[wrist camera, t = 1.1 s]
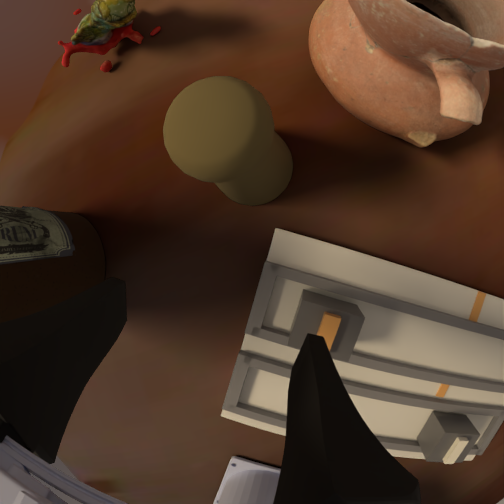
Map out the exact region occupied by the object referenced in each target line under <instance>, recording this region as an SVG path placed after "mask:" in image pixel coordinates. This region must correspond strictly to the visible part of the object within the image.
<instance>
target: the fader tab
mask: <svg viewBox="0 0 504 504" xmlns="http://www.w3.org/2000/svg"><path fill="white" fill-rule="evenodd" d="M364 320H365V317H364V315H363V314H362V312H361V310H360V309H359V307H358V305H356V304H353V303H349V302H346V301H342V300H339V299H335V298H332V297H328V296H325V295H322V294H318V293H315V292H311V291H308V290H305V289H303V291H302V294H301V297H300V300H299V304H298V307H297V310H296V313H295V316H294V319H293V322H292V325H291V328H290V333H289V338H288V343H287V346H291V347H294V348H298V349H301V347H302V345H303V342H304V340H305V338H306V336H307V333H310V334H314V335H319V336H323V337H324V339H325V341H326V344H327V347H328V349H329V352H330V354H331V357H332V358H334V359H338V360H341V361H345V362H349V359H350V357H351V354H352V352H353V349H354V347H355V344H356V341H357V339H358V336H359V333H360V331H361V328H362V325H363V323H364Z"/></svg>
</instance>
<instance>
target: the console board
mask: <svg viewBox="0 0 504 504" xmlns="http://www.w3.org/2000/svg"><path fill="white" fill-rule="evenodd" d="M303 289H305V290H308V291H311V292H315V293H318V294H322V295H325V296H328V297H332V298H335V299H339V300H342V301H346V302H349V303H353V304H356V305H358V307H359V309H360V310H361V312H362V314H363V315H364V317H365V320H364V323H363V325H362V328H361V331H360V333H359V336H358V339H357V341H356V344H355V347H354V349H353V352H352V354H351V357H350V359H349V362H345V361H341V360H338V359H334V358H332V359H333V362H334V364H335V366H336V369H337V371H338V373H339V375H340V378H341V380H342V382H343V384H344V386H345V388H346V390H347V392H348V394H349V396H350V398H351V400H352V402H353V403H354V405H355V407H356V409H357V410H358V412H359V414H360V415H361V417H362V418H363V420H364V421H365V423H366V424H367V426H368V427H369V428H370V430H371V431H372V432H373V434H374V435H375V436H376V438H377V439H378V440H379V441H380V443H381V444H382V445H383V446H384V447H385V449H386V450H387V451H388V452H389V453H390V454H391V455H392V456H396V457H406V458H417V459H425V457H424V455H423V452H422V450H421V448H420V445H419V443H418V441H417V436H418V435H419V433H420V432H421V430H422V428H423V427H424V425H425V423H426V421H427V420H428V418H429V416H430V414H431V413H432V411H436V412H444V413H452V414H461V415H466V416H467V417H468V418H469V420H470V421H471V422H472V424H473V425H474V427H475V428H476V429H477V431H478V432H479V433H480V437H479V438H478V440H477V441H476V443H475V444H474V446H473V447H472V449H471V450H470V452H469V453H468V455H467V456H466V457H465V459H464V460H472V459H473V458H474V457H475V455H482V453H483V452H484V450H485V449H486V447H487V446H488V444H489V443H490V441H491V440H492V438H493V437H494V435H495V434H496V432H497V430H498V429H499V427H500V425H501V424H502V422H503V420H504V299H501V298H499V297H496V296H493V295H490V294H487V293H484V292H481V291H478V290H475V289H472V288H470V287H467V286H464V285H461V284H458V283H455V282H452V281H449V280H446V279H443V278H440V277H436V276H433V275H430V274H427V273H424V272H421V271H418V270H415V269H412V268H409V267H405V266H402V265H399V264H396V263H393V262H390V261H386V260H383V259H380V258H377V257H373V256H370V255H367V254H364V253H360V252H357V251H354V250H351V249H347V248H344V247H341V246H337V245H334V244H330V243H327V242H324V241H320V240H317V239H314V238H310V237H307V236H303V235H300V234H296V233H293V232H289V231H286V230H282V229H279V228H275V232H274V236H273V239H272V243H271V246H270V250H269V253H268V257H267V260H266V261H265V263H264V267H263V270H262V274H261V277H260V281H259V284H258V288H257V291H256V295H255V298H254V302H253V305H252V309H251V312H250V316H249V319H248V323H247V326H246V330H245V333H246V334H245V337H244V340H243V344H242V347H241V350H240V352H239V354H238V357H237V360H236V364H235V367H234V370H233V374H232V377H231V381H230V384H229V387H228V391H227V394H226V397H225V401H224V404H223V407H222V409H223V411H222V414H221V416H222V417H225V418H228V419H231V420H234V421H237V422H240V423H243V424H246V425H250V426H253V427H256V428H259V429H263V430H266V431H270V432H273V433H277V434H281V435H284V436H286V421H287V400H288V388H289V382H290V376H291V370H292V367H293V365H294V362H295V360H296V358H297V356H298V354H299V351H300V349H298V348H294V347H291V346H287V343H288V338H289V333H290V328H291V325H292V322H293V319H294V316H295V313H296V310H297V307H298V304H299V300H300V297H301V294H302V291H303Z"/></svg>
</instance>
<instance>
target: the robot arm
mask: <svg viewBox="0 0 504 504" xmlns="http://www.w3.org/2000/svg"><path fill="white" fill-rule="evenodd" d="M126 321H127V312H126V285H125V281H123V280H120V279H117V278H114V277H112V278H109V279H107V280H105V281H103V282H101V283H99V284H97V285H95V286H93V287H91V288H89V289H87V290H85V291H83V292H81V293H79V294H77V295H75V296H73V297H71V298H69V299H67V300H65V301H63V302H60V303H58V304H56V305H54V306H52V307H49V308H47V309H44V310H42V311H39V312H36V313H33V314H31V315H28V316H24V317H21V318H17V319H13V320H10V321H6V322H1V323H0V504H67V503H66V502H65V501H63V500H62V499H60V498H59V497H58V496H57V495H55V494H54V493H53V492H52V491H51V490H50V489H49V488H48V487H46V486H45V485H43V484H42V483H41V482H39V481H38V480H36V479H35V478H34V477H32V476H31V475H30V473H32V474H33V475H35V476H37V477H38V478H40V479H41V480H43V481H44V482H46V483H48V484H49V485H51V486H52V487H54V488H56V489H57V490H59V491H61V492H63V493H64V494H66V495H68V496H70V497H71V498H73V499H75V500H77V501H79V502H81V503H83V504H128V503H125V502H123V501H120V500H118V499H116V498H113V497H111V496H109V495H107V494H105V493H102V492H100V491H98V490H96V489H94V488H92V487H90V486H88V485H86V484H84V483H82V482H80V481H78V480H76V479H75V478H73V477H71V476H69V475H67V474H65V473H64V472H62V471H60V470H58V469H57V468H55V467H53V466H52V465H50V464H52V463H54V462H55V459H56V455H57V452H58V449H59V446H60V443H61V440H62V437H63V434H64V432H65V429H66V426H67V424H68V421H69V419H70V417H71V414H72V412H73V410H74V408H75V405H76V403H77V401H78V399H79V397H80V395H81V393H82V391H83V389H84V387H85V386H86V384H87V382H88V381H89V379H90V377H91V376H92V375H93V373H94V372H95V370H96V369H97V367H98V366H99V364H100V363H101V362H102V360H103V359H104V357H105V356H106V355H107V353H108V352H109V350H110V349H111V347H112V346H113V345H114V343H115V342H116V340H117V338H118V337H119V335H120V333H121V331H122V329H123V327H124V325H125V323H126ZM233 463H235V464H233ZM29 472H30V473H29ZM213 504H421V497H420V488H419V482H418V479H416V478H415V477H414V476H413V475H412V474H411V473H410V472H408V471H407V470H406V469H405V468H404V467H403V466H402V465H401V464H400V463H399V462H398V461H397V460H396V459H395V458H394V457H393V456H392V455H391V454H390V453H389V452H388V451H387V450H386V449H385V447H384V446H383V445H382V444H381V443H380V441H379V440H378V439H377V438H376V436H375V435H374V434H373V432H372V431H371V430H370V428H369V427H368V426H367V424H366V423H365V421H364V420H363V418H362V417H361V415H360V414H359V412H358V410H357V409H356V407H355V405H354V403H353V402H352V400H351V398H350V396H349V394H348V392H347V390H346V388H345V386H344V384H343V382H342V380H341V378H340V375H339V373H338V371H337V369H336V366H335V364H334V362H333V359H332V357H331V354H330V352H329V349H328V347H327V344H326V341H325V339H324V337H323V336H319V335H314V334H310V333H307V336H306V338H305V340H304V342H303V345H302V347H301V349H300V351H299V354H298V356H297V358H296V360H295V362H294V365H293V367H292V370H291V376H290V382H289V388H288V400H287V421H286V439H285V449H284V455H283V460H282V466H281V469H280V468H276V467H272V466H268V465H264V464H261V463H257V462H254V461H250V460H247V459H244V458H240V457H237V456H233V457H231V459H230V462H229V465H228V467H227V470H226V473H225V475H224V478H223V480H222V483H221V485H220V488H219V491H218V493H217V496H216V498H215V501H214V503H213Z"/></svg>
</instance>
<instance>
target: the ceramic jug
mask: <svg viewBox="0 0 504 504" xmlns="http://www.w3.org/2000/svg"><path fill="white" fill-rule="evenodd" d="M309 50H310V56H311V60H312V63H313V65H314V68H315V70H316V72H317V74H318V76H319V77H320V79H321V80H322V82H323V83H324V84H325V86H326V87H327V89H328V90H329V92H330V93H331V94H332V96H333V97H334V98H335V99H336V101H337V102H338V103H339V104H340V105H341V106H342V107H344V108H345V109H346V110H347V111H348V112H349V113H351V114H352V115H353V116H355V117H356V118H357V119H359V120H360V121H362V122H364V123H365V124H367V125H369V126H371V127H373V128H375V129H377V130H379V131H381V132H384V133H387V134H389V135H392V136H395V137H398V138H401V139H403V140H405V141H407V142H410V143H412V144H414V145H416V146H418V147H420V148H422V147H426V146H428V145H430V144H432V143H433V142H434V141H440V140H445V139H450V138H452V137H455V136H457V135H459V134H461V133H463V132H465V131H466V130H468V129H469V128H470V127H471V126H472V125H473V124H474V125H479V124H480V123H481V121H482V113H483V111H484V109H485V106H486V103H487V100H488V96H489V88H490V79H489V70H496V69H500V68H504V0H324V1H323V2H322V4H321V5H320V6H319V8H318V9H317V11H316V12H315V14H314V16H313V19H312V22H311V25H310V29H309Z"/></svg>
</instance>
